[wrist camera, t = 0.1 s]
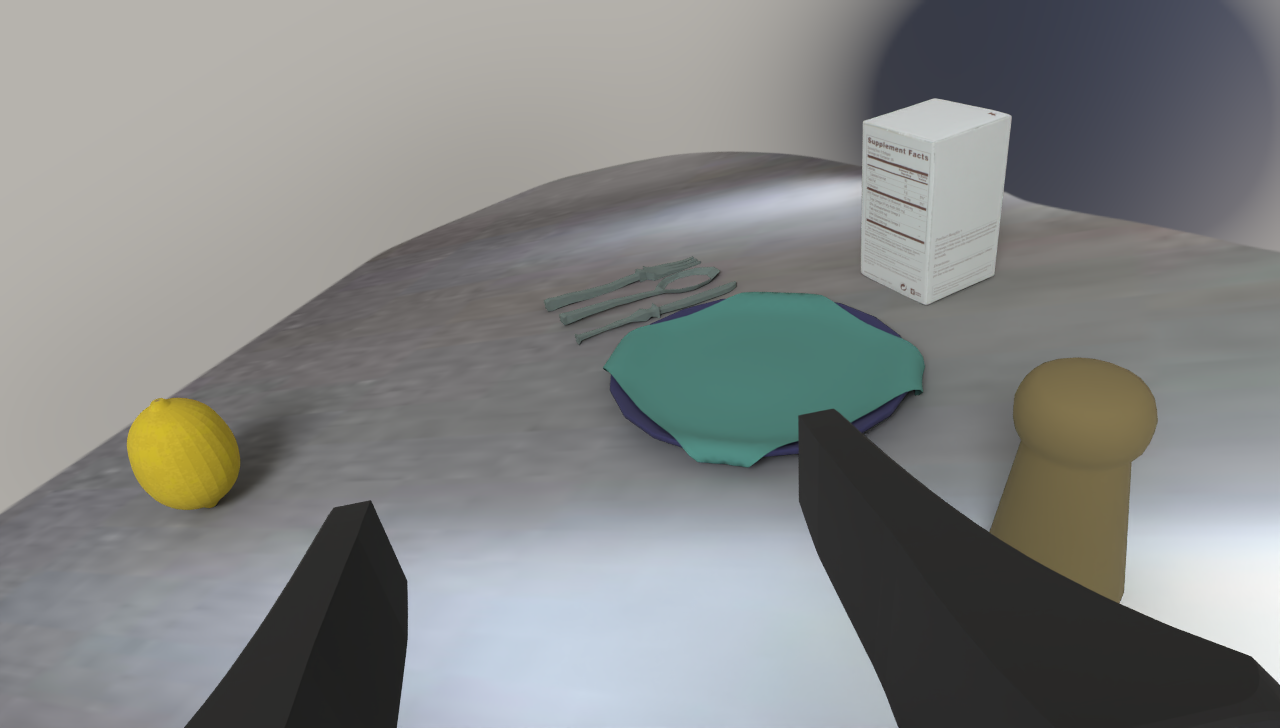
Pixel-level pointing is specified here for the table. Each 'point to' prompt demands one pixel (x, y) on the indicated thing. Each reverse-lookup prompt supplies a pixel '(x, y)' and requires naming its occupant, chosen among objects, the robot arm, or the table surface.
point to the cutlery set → (746, 365)
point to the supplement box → (932, 197)
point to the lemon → (183, 453)
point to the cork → (1076, 469)
